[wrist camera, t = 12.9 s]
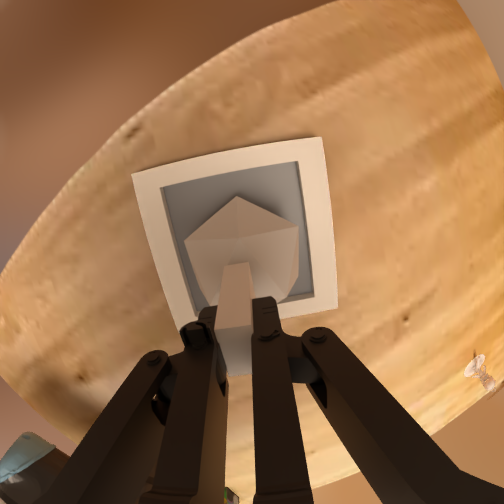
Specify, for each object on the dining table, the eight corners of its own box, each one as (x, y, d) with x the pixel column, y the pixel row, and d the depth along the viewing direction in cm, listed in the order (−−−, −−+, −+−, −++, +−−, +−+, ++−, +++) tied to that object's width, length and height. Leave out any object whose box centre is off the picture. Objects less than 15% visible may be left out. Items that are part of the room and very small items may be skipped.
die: (222, 175, 24) (144, 244, 18) (321, 191, 20) (263, 283, 14) (235, 248, 29) (179, 318, 23) (317, 270, 26) (272, 358, 20)
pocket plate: (182, 322, 29) (178, 333, 27) (139, 172, 24) (131, 174, 22) (332, 298, 29) (338, 307, 27) (315, 137, 23) (321, 136, 21)
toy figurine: (464, 381, 36) (482, 407, 29) (462, 358, 34) (484, 386, 27) (484, 364, 35) (504, 387, 29) (484, 339, 33) (508, 365, 26)
